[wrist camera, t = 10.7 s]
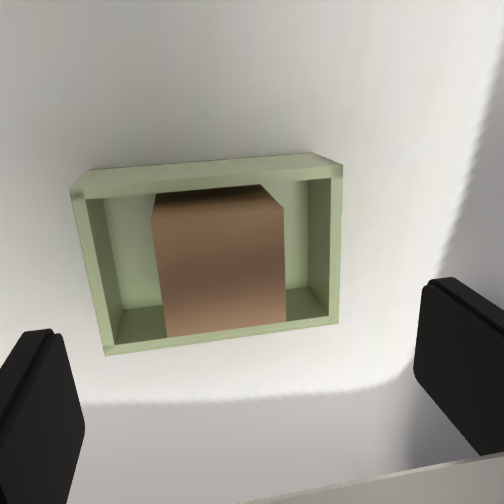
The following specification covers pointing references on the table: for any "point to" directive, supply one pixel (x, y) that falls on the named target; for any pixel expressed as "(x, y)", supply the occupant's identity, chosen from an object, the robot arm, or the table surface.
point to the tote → (143, 253)
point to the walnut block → (219, 259)
